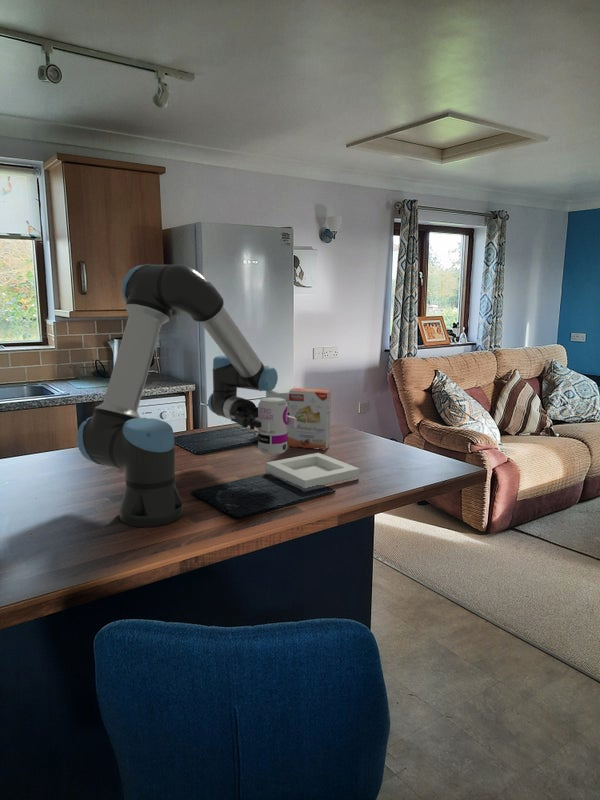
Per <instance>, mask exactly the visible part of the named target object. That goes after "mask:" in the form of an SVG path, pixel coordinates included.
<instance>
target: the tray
mask: <svg viewBox="0 0 600 800" xmlns="http://www.w3.org/2000/svg"><path fill="white" fill-rule="evenodd" d="M266 473H269V474H272V475H275V476H278V477H280V478H283V479H285V480H288V481H290V482H292V483H294V484H297V485H299V486H301V487H303V488H308V487H312V486H316V485H328V484H332V483H336V482H340V481H344V480H348V479H352V478H355V477H359V478H360V468H359V467H356V466H354V465H351V464H349V463H346V462H344V461H341V460H339V459H335V458H333V457H331V456H328V455H326V454H322V453H320V452H314V453H308V454H304V455H303V454H302V455H299V456H293V457H289V458H282V459H278V460H272V461H268V462H265V474H266Z"/></svg>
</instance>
